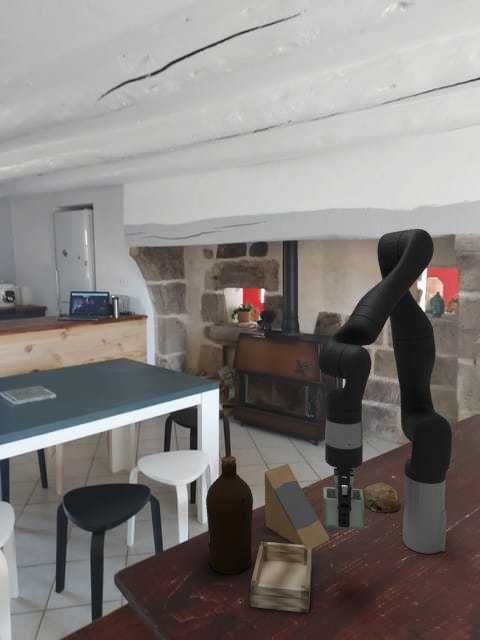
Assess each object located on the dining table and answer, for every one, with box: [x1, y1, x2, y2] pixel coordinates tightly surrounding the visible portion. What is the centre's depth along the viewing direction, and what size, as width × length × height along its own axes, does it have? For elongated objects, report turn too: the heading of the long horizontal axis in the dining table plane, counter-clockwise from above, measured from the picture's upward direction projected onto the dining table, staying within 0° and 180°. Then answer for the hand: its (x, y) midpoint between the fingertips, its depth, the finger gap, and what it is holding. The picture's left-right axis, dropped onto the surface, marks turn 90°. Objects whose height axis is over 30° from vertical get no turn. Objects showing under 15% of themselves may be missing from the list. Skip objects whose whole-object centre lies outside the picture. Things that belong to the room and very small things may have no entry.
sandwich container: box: [264, 463, 331, 550], centre depth 126 cm, size 9×15×15 cm, turn 39°
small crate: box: [323, 486, 365, 531], centre depth 104 cm, size 8×6×6 cm
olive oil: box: [205, 455, 254, 576], centre depth 113 cm, size 11×11×25 cm
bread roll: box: [362, 481, 400, 514], centre depth 140 cm, size 10×10×8 cm
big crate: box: [249, 541, 313, 614], centre depth 106 cm, size 12×16×5 cm
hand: (343, 518), depth 104 cm, fingers closed on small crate, 5 cm apart
